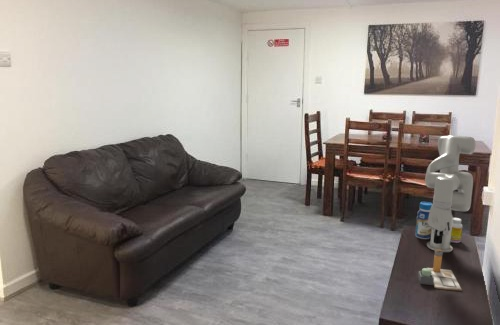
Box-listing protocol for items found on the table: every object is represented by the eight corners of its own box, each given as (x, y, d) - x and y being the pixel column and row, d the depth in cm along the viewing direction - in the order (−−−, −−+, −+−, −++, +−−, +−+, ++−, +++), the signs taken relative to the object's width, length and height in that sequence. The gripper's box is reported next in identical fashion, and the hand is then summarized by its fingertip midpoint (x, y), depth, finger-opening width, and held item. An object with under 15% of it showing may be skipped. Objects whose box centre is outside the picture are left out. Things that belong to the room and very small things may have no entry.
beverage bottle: (424, 233, 241) (427, 200, 236) (434, 238, 233) (438, 204, 228) (411, 234, 238) (415, 201, 234) (421, 240, 230) (425, 206, 226)
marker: (432, 268, 196) (434, 248, 193) (439, 269, 195) (441, 249, 193) (433, 271, 193) (435, 251, 190) (441, 272, 192) (443, 252, 190)
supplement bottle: (462, 243, 226) (465, 221, 224) (449, 242, 228) (451, 220, 225) (458, 239, 233) (461, 217, 230) (446, 238, 234) (448, 216, 231)
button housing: (417, 277, 188) (418, 270, 187) (430, 279, 187) (431, 272, 186) (420, 283, 183) (420, 276, 182) (433, 285, 182) (433, 277, 181)
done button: (420, 275, 187) (421, 267, 186) (429, 276, 186) (430, 268, 185) (421, 279, 183) (422, 271, 182) (431, 280, 182) (432, 272, 181)
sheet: (426, 268, 197) (426, 266, 197) (451, 271, 195) (451, 269, 195) (434, 288, 179) (435, 286, 179) (462, 291, 177) (462, 289, 176)
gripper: (424, 200, 191) (419, 237, 194) (446, 209, 176) (441, 250, 180) (438, 199, 192) (433, 236, 196) (461, 208, 178) (456, 248, 182)
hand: (437, 242), depth 188 cm, fingers closed
